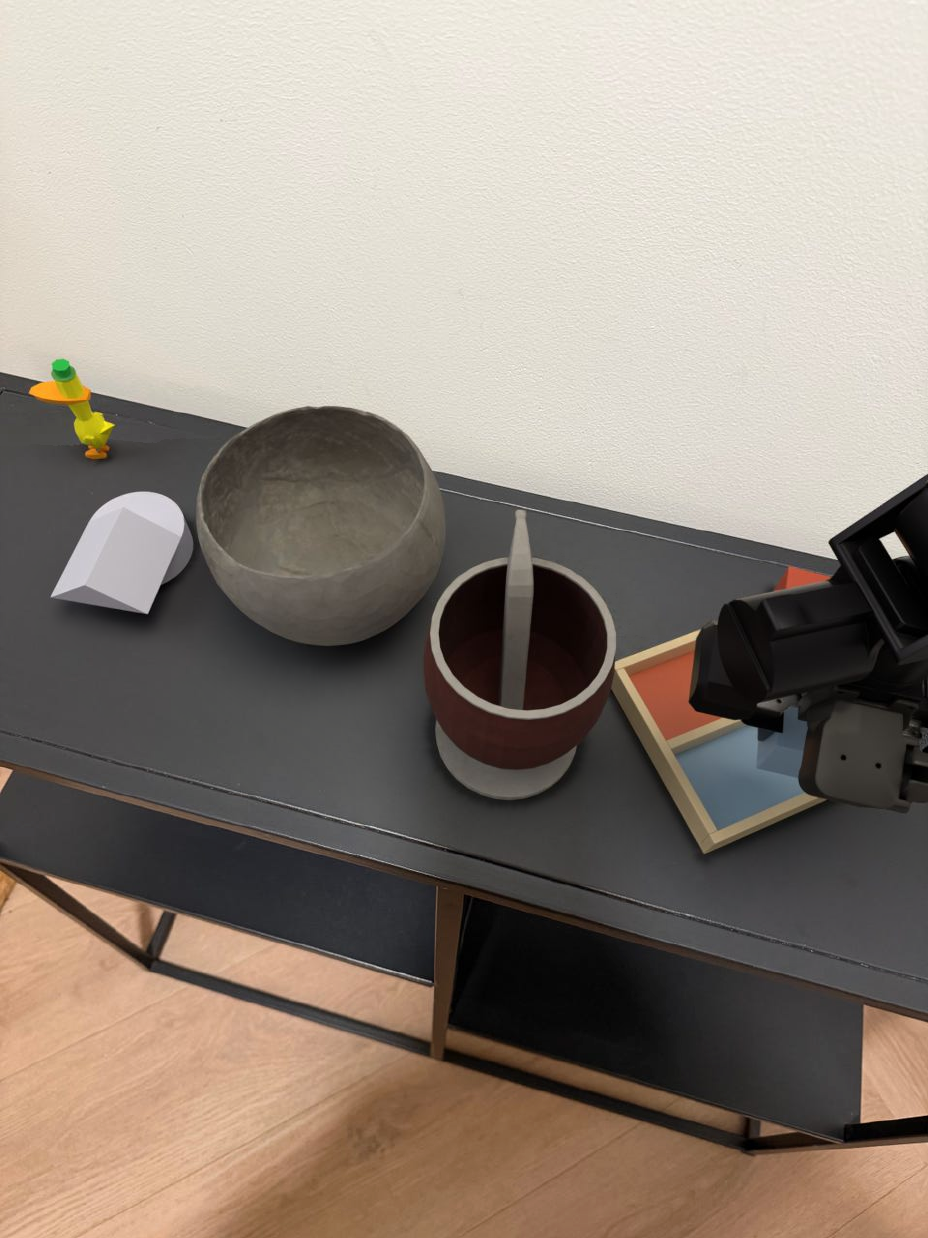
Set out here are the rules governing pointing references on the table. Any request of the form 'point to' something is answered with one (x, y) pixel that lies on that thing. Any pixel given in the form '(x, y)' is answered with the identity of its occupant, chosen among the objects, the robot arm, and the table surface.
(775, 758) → the blue block
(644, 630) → the table surface
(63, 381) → the toy figure
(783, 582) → the red block
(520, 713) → the mate gourd
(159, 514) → the wedge on round base
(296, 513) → the bowl
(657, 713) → the sorting tray
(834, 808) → the table surface
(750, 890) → the table surface
